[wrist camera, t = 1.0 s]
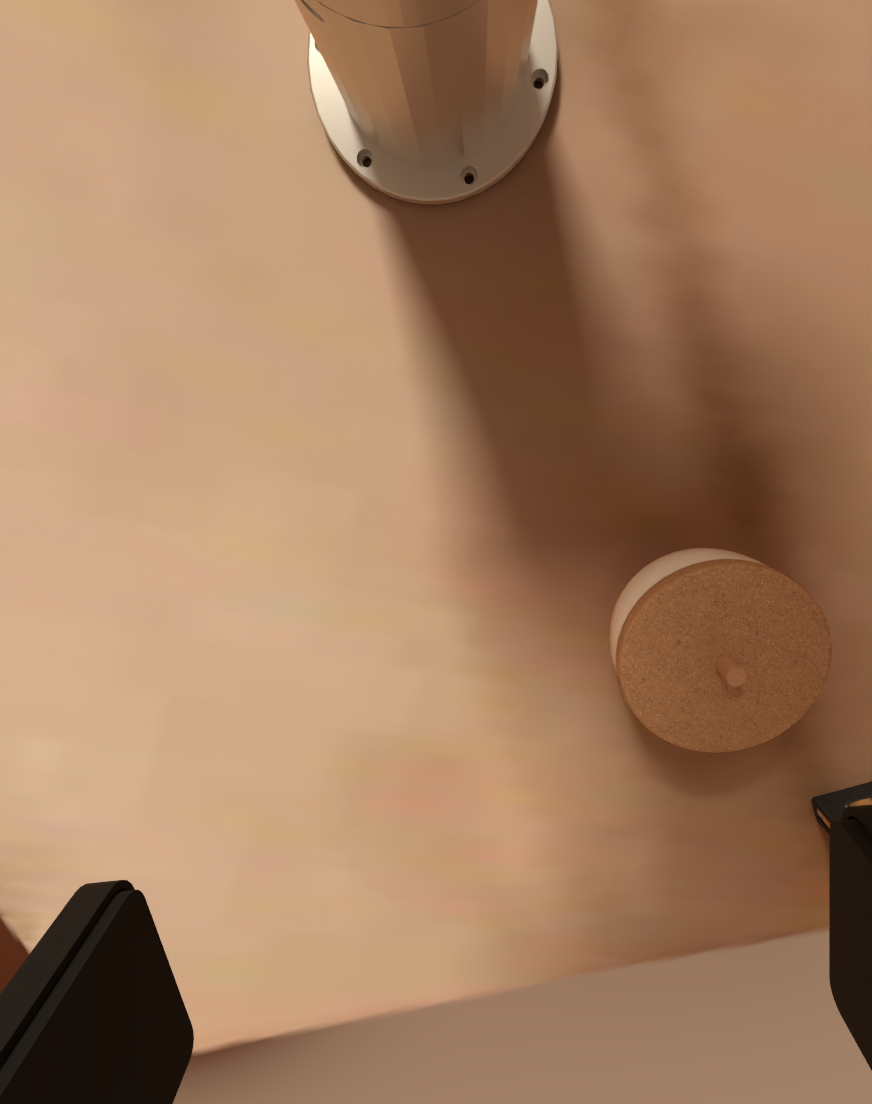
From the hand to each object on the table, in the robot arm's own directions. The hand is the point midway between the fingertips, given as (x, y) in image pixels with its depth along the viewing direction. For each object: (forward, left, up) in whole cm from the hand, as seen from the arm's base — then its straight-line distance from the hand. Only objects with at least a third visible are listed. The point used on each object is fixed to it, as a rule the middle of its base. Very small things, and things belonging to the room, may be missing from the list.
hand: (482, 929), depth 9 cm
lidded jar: (+11, +9, -32) cm, 36 cm away
